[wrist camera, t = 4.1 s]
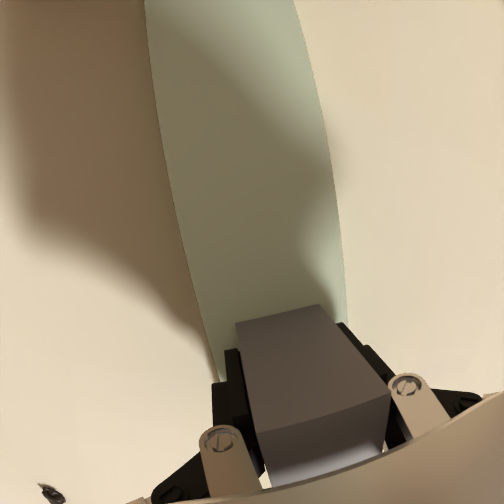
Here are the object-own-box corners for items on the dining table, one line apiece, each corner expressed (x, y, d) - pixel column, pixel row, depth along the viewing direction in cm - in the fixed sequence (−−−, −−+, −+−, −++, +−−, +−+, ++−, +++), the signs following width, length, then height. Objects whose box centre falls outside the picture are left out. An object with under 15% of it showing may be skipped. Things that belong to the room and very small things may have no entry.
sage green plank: (266, -53, 9) (299, -145, 2) (342, 373, 15) (404, 469, 8) (144, -38, 8) (118, -132, 2) (229, 402, 14) (245, 518, 7)
